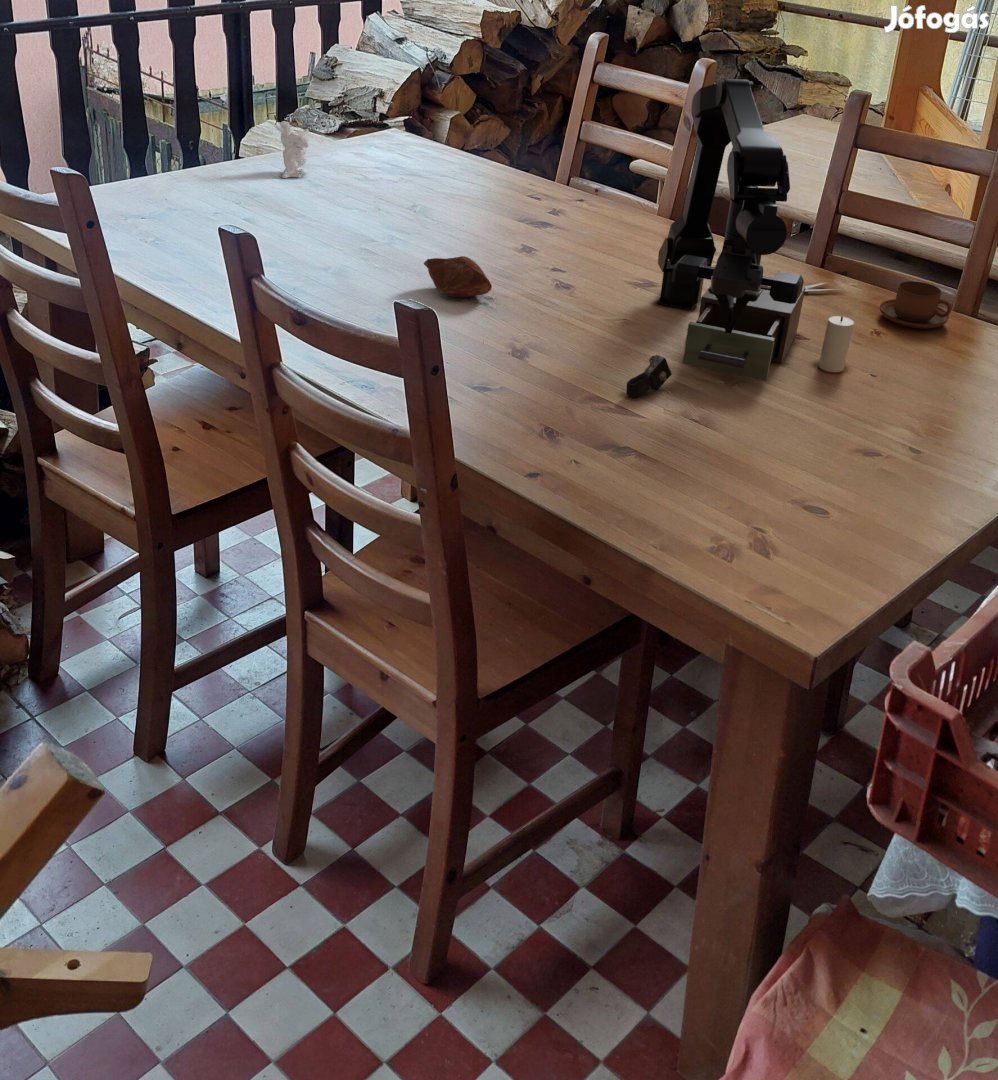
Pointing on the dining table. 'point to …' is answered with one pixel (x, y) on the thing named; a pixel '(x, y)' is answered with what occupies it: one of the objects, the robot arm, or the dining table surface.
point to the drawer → (733, 343)
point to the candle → (836, 344)
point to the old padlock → (649, 377)
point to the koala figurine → (293, 149)
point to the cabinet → (774, 308)
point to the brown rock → (458, 277)
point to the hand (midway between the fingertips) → (728, 332)
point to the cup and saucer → (916, 306)
